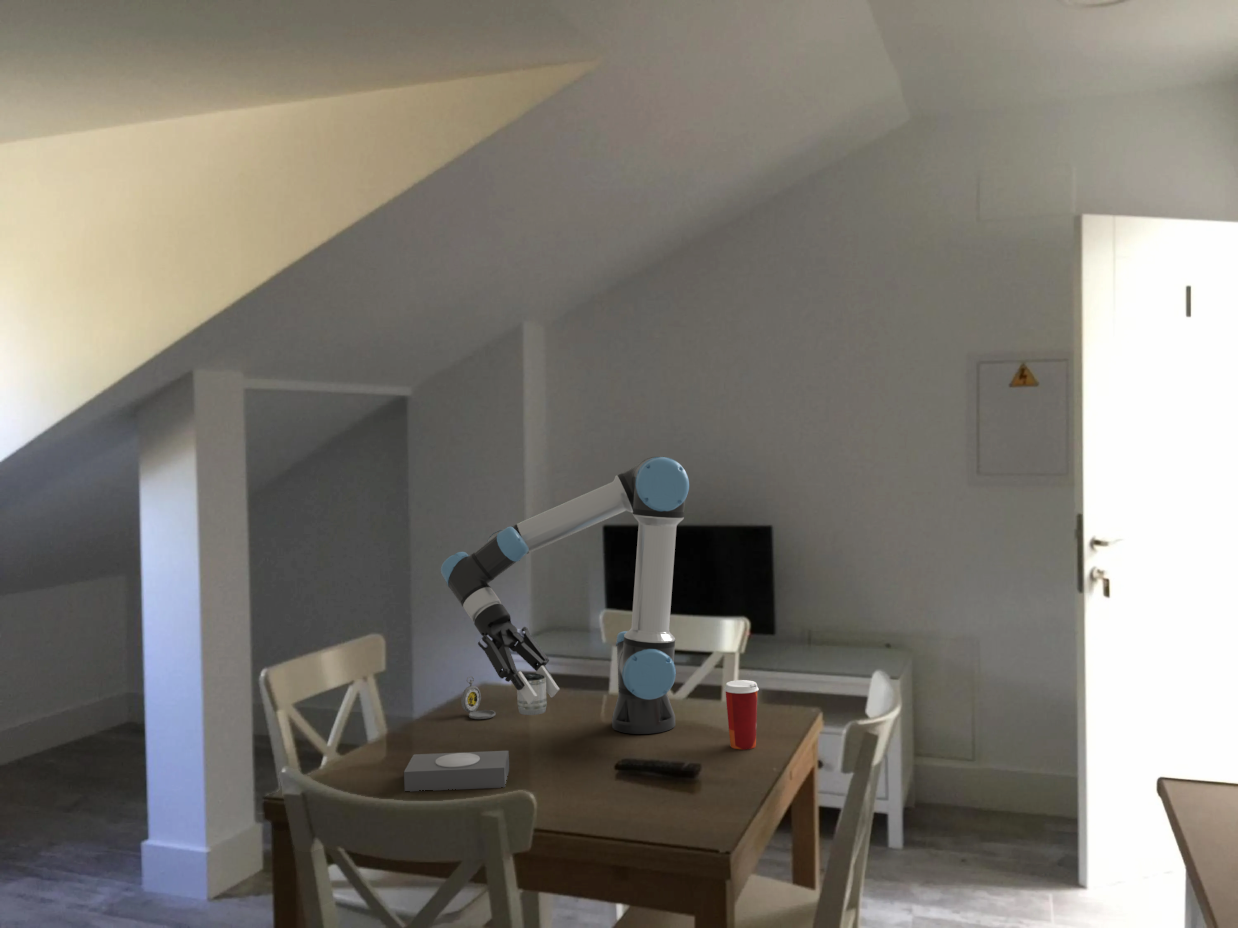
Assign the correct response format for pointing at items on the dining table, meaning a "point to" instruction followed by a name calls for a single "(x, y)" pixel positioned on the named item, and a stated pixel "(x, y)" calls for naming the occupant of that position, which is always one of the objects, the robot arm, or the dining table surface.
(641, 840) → the dining table surface
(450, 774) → the box with white oval
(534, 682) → the camera lens
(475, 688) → the pocket watch
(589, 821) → the dining table surface
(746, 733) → the paper cup
